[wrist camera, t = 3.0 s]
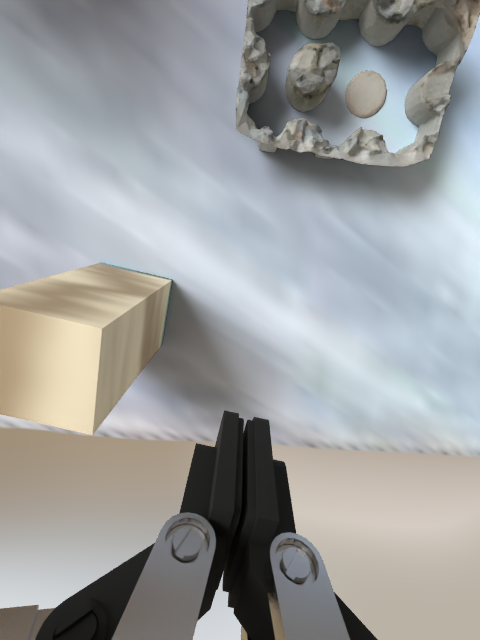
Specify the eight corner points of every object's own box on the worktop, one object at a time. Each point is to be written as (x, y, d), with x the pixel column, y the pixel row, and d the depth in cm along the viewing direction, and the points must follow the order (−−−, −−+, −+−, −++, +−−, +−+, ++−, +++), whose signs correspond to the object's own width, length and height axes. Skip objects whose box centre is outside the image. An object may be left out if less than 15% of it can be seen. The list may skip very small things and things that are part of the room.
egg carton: (450, 32, 16) (512, -28, 12) (401, 183, 19) (441, 173, 15) (254, -7, 16) (255, -80, 12) (231, 150, 18) (224, 131, 15)
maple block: (172, 279, 21) (101, 328, 11) (162, 344, 22) (92, 435, 13) (101, 262, 21) (-30, 297, 11) (95, 328, 22) (-24, 408, 13)
